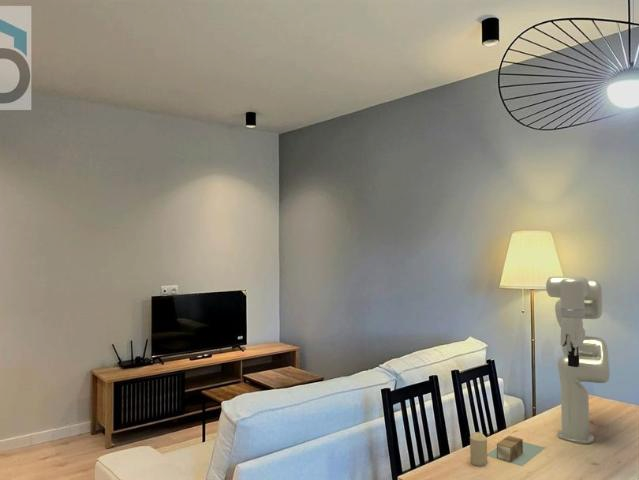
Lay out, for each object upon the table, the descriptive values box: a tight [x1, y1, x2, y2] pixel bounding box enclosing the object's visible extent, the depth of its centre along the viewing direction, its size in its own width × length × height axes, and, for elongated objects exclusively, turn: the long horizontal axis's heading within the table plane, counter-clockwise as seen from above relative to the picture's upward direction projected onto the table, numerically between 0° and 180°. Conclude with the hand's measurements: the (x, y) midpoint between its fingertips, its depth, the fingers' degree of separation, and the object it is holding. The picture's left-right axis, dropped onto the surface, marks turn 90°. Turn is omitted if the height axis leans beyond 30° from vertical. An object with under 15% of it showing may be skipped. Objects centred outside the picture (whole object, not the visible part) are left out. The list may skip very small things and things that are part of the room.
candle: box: [469, 431, 488, 467], centre depth 168 cm, size 6×6×10 cm
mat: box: [487, 441, 546, 467], centre depth 176 cm, size 21×13×1 cm, turn 136°
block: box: [496, 435, 524, 463], centre depth 172 cm, size 5×5×10 cm
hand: (573, 366), depth 172 cm, fingers closed
